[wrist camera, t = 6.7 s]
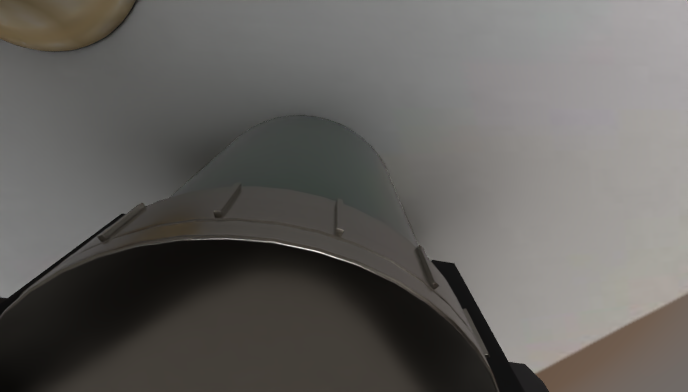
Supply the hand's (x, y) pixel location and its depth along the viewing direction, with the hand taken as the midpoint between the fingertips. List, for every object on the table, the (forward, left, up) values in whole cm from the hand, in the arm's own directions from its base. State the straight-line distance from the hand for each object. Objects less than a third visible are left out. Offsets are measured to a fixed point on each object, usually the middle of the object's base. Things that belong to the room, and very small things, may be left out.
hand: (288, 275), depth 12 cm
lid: (0, 0, +5) cm, 5 cm away
